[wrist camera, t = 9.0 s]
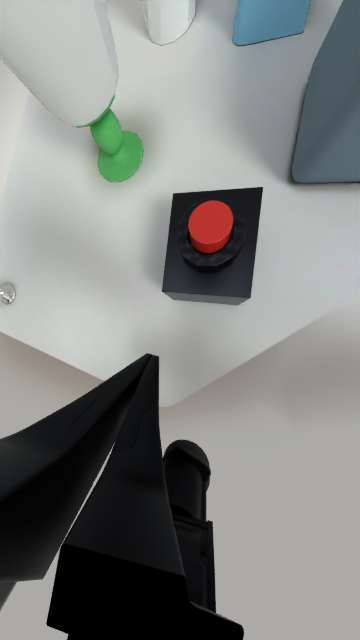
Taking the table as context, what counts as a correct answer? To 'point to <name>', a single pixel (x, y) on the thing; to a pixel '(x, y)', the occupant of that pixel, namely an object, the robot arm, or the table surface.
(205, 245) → the button
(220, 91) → the table surface
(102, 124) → the cup
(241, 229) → the control block
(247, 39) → the vase
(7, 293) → the wineglass
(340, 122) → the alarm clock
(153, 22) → the vase
